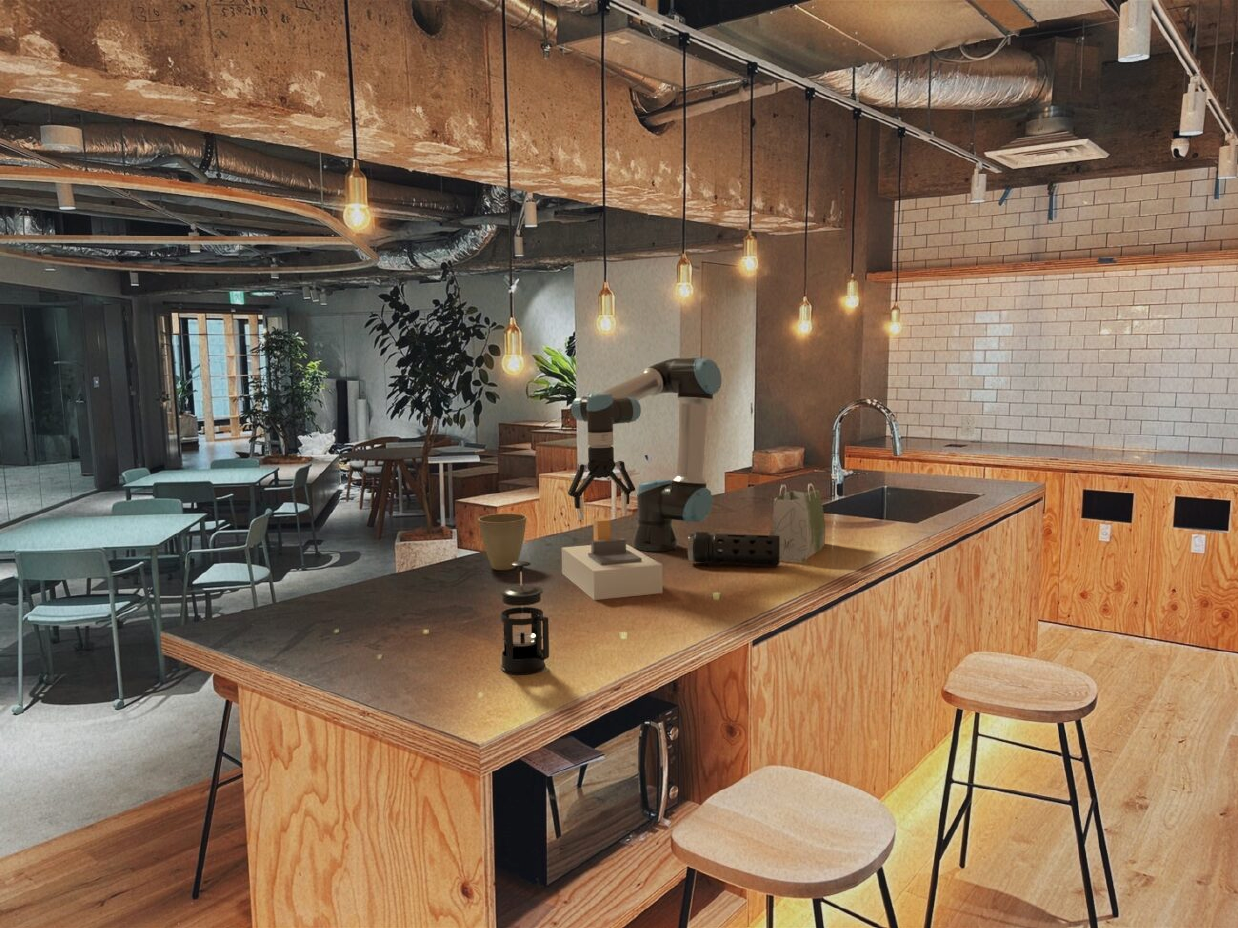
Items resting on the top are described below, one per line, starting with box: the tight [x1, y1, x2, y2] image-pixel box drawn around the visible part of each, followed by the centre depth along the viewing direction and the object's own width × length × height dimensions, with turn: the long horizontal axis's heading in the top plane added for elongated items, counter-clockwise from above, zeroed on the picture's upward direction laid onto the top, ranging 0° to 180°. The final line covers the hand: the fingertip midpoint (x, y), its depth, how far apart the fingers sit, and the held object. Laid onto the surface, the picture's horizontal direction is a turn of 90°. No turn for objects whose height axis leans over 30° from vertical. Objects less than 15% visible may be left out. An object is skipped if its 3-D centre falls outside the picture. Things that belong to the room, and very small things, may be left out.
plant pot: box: [477, 512, 527, 571], centre depth 282 cm, size 15×15×16 cm
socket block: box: [561, 543, 664, 601], centre depth 262 cm, size 32×20×8 cm, turn 19°
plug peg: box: [592, 517, 612, 541], centre depth 268 cm, size 4×4×16 cm
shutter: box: [588, 537, 641, 565], centre depth 258 cm, size 12×12×4 cm
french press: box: [499, 560, 550, 676], centre depth 191 cm, size 12×9×23 cm
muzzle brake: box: [687, 531, 780, 568], centre depth 282 cm, size 10×28×10 cm, turn 78°
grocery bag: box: [769, 483, 826, 564], centre depth 300 cm, size 32×14×23 cm, turn 156°
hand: (602, 517), depth 267 cm, fingers open, 13 cm apart
